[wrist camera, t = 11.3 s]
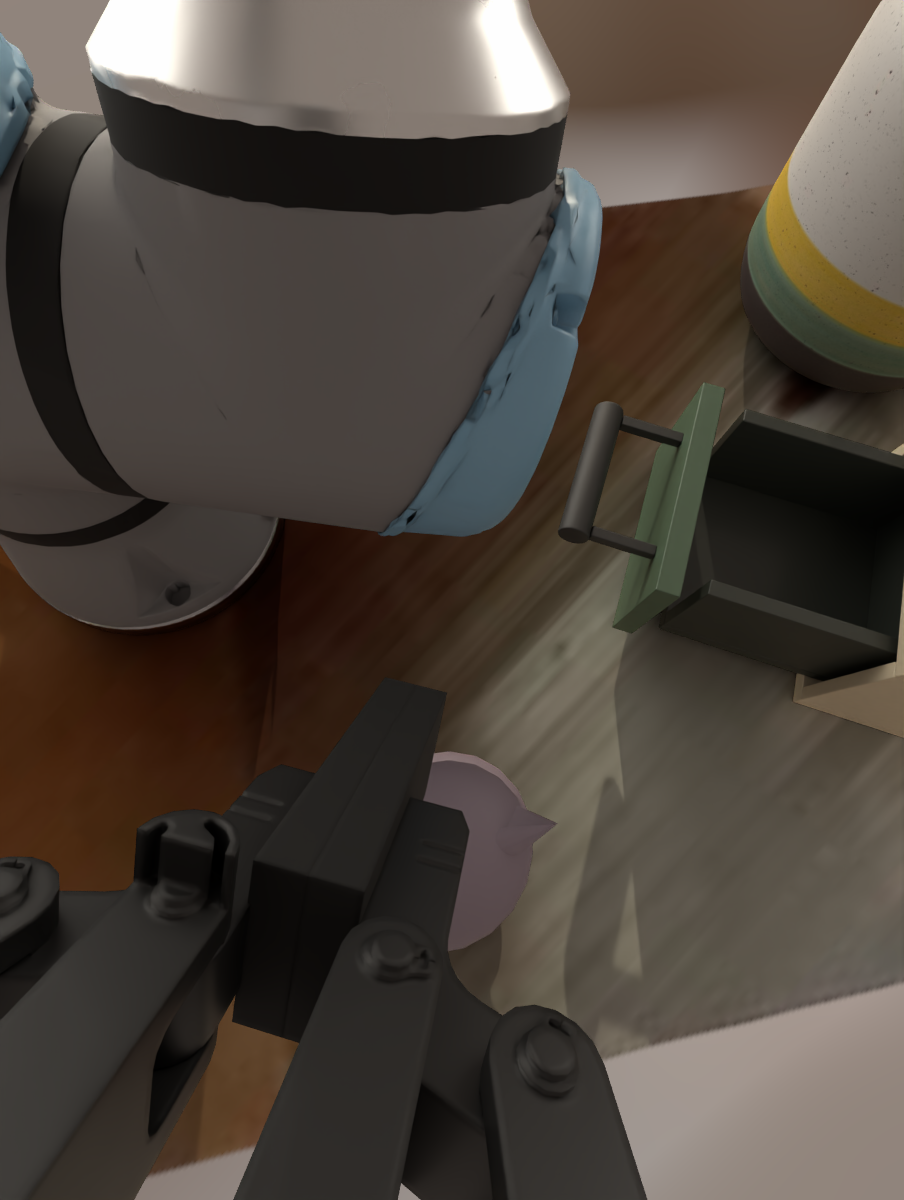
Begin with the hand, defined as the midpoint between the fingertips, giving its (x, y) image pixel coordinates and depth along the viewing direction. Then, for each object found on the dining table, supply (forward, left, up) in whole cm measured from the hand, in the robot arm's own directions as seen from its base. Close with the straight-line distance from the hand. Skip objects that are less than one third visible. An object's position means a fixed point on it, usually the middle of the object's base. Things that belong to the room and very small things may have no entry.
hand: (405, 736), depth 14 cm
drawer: (+13, +17, -18) cm, 28 cm away
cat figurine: (+2, -3, -19) cm, 20 cm away
